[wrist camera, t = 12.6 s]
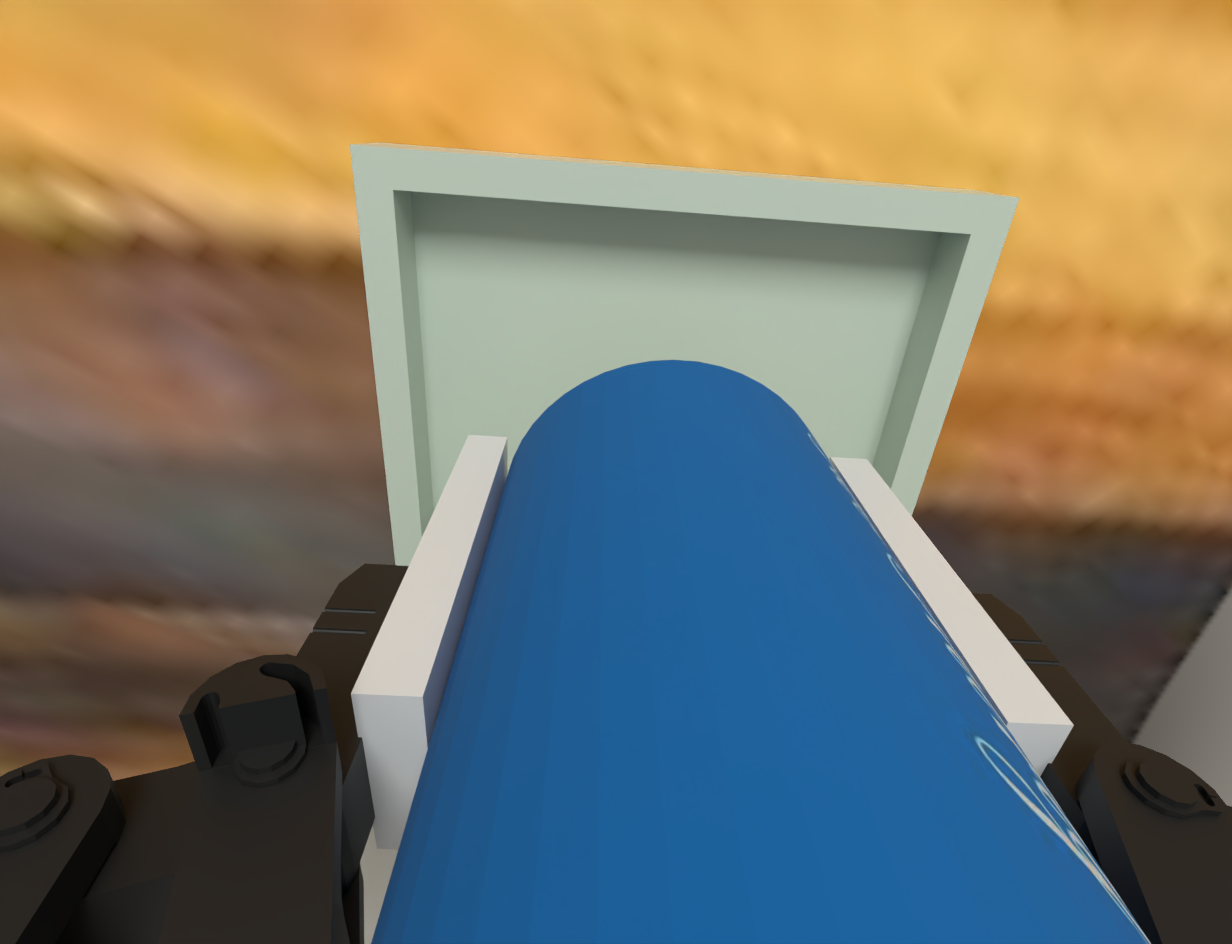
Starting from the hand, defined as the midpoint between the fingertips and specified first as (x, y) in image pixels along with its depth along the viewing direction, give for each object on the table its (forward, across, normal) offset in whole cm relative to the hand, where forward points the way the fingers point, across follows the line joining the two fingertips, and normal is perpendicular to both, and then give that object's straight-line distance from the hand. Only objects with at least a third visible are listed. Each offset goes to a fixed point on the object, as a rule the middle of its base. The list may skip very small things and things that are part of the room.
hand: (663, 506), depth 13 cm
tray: (+3, 0, 0) cm, 3 cm away
